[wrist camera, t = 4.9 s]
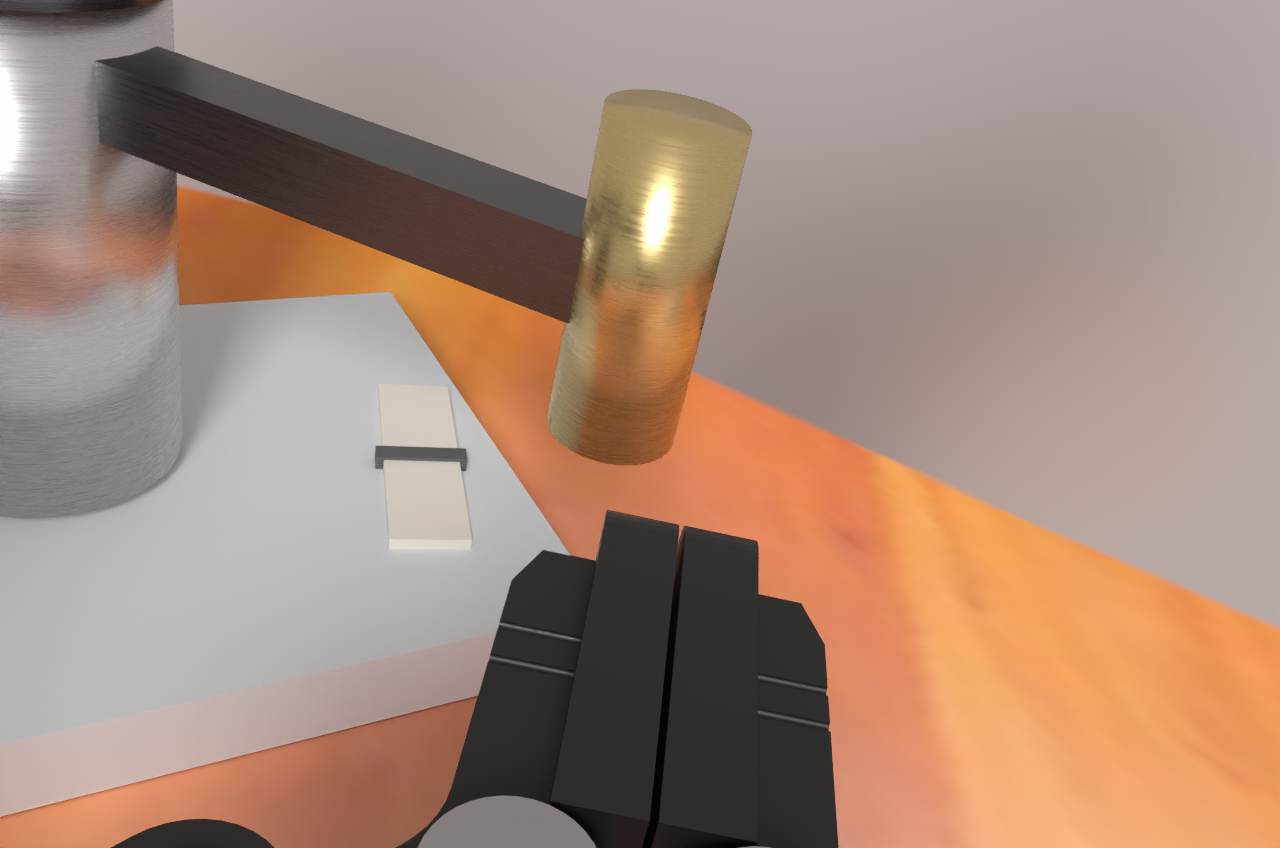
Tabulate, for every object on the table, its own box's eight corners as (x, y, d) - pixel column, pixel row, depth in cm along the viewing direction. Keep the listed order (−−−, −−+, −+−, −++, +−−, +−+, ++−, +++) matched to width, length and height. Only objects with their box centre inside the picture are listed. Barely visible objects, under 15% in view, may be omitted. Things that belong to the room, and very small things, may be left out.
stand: (-363, 408, 30) (-388, 327, 29) (385, 343, 40) (391, 281, 39) (-479, 938, 19) (-529, 845, 18) (592, 666, 29) (609, 595, 28)
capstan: (-178, 452, 27) (-313, -146, 20) (52, 343, 32) (8, -157, 25) (534, 809, 22) (671, 197, 15) (662, 613, 28) (805, 96, 21)
